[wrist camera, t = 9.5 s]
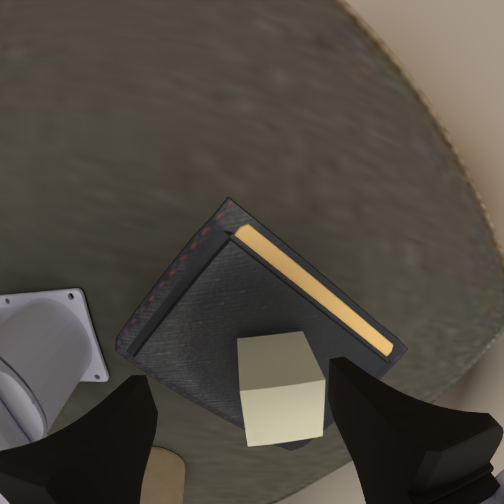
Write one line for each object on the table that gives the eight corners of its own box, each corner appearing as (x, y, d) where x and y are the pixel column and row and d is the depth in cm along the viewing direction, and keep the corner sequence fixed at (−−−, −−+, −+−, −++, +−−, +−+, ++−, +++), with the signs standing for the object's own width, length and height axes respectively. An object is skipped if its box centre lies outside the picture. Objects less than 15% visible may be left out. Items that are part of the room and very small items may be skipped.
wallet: (101, 351, 21) (234, 187, 19) (109, 340, 22) (233, 186, 21) (292, 464, 25) (418, 357, 23) (289, 451, 26) (407, 346, 25)
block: (243, 390, 22) (247, 446, 16) (237, 338, 21) (239, 390, 15) (303, 382, 22) (322, 436, 16) (302, 331, 21) (325, 379, 15)
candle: (125, 443, 24) (100, 523, 14) (180, 446, 24) (169, 534, 15) (139, 475, 25) (123, 548, 16) (190, 478, 26) (184, 556, 16)
